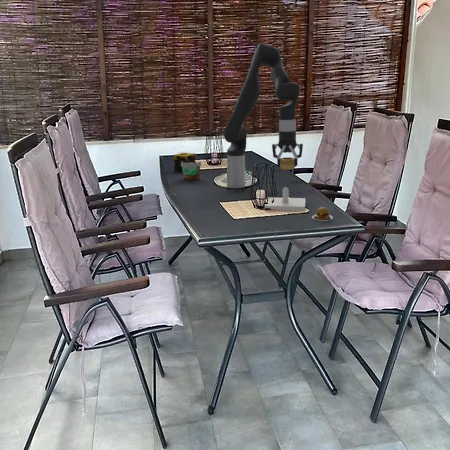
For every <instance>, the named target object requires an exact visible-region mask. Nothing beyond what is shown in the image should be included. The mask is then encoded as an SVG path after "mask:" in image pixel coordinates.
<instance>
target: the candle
mask: <svg viewBox="0 0 450 450" xmlns="http://www.w3.org/2000/svg"><path fill="white" fill-rule="evenodd" d="M182 161H183V163H190V162H192V163H197V162H196V153H195V152H194V153H193V152H178V153H176V154H174V155H173V164H174V165H173V169H174V170H173V171H175V172H183V169H182V166H181V163H182Z"/></svg>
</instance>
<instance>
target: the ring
mask: <svg viewBox="0 0 450 450" xmlns="http://www.w3.org/2000/svg"><path fill="white" fill-rule="evenodd" d="M294 160H295V157H292V156H291V157H290V156H289V157H288V156H286V157H280V167H279V169H280V170H283V171H285V170H289V171H290V170H295V168H296V167H294Z"/></svg>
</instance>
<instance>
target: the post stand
mask: <svg viewBox="0 0 450 450" xmlns="http://www.w3.org/2000/svg"><path fill="white" fill-rule="evenodd" d="M289 192H290V190H289V188H288V187H286V186H285V187H283V188H282V197H267V198H268V202H269V203H268V204H264V209H265V208H270V209H277V210H276V211H285V210H290V211H292V212H293V211H294V212H296V211H297V212H298V211H299V212H306V197H304V198H302V197H300V198H299V197H290V193H289ZM273 198H274V202H273V203H272V202H271V201H272V199H273Z"/></svg>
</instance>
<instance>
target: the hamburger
mask: <svg viewBox="0 0 450 450" xmlns="http://www.w3.org/2000/svg"><path fill="white" fill-rule="evenodd" d="M315 217H316V218H317V219H316V218H315ZM311 218H312V219H313V220H315V221H319V222H328V221H332V220H333V219H334V217H333V216H332V215H331V214H330V211H329V209H328V208H327V207H325V206H320V207H318V208H317V210H316V214H313V215H312V216H311ZM329 218H330V219H329Z"/></svg>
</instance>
